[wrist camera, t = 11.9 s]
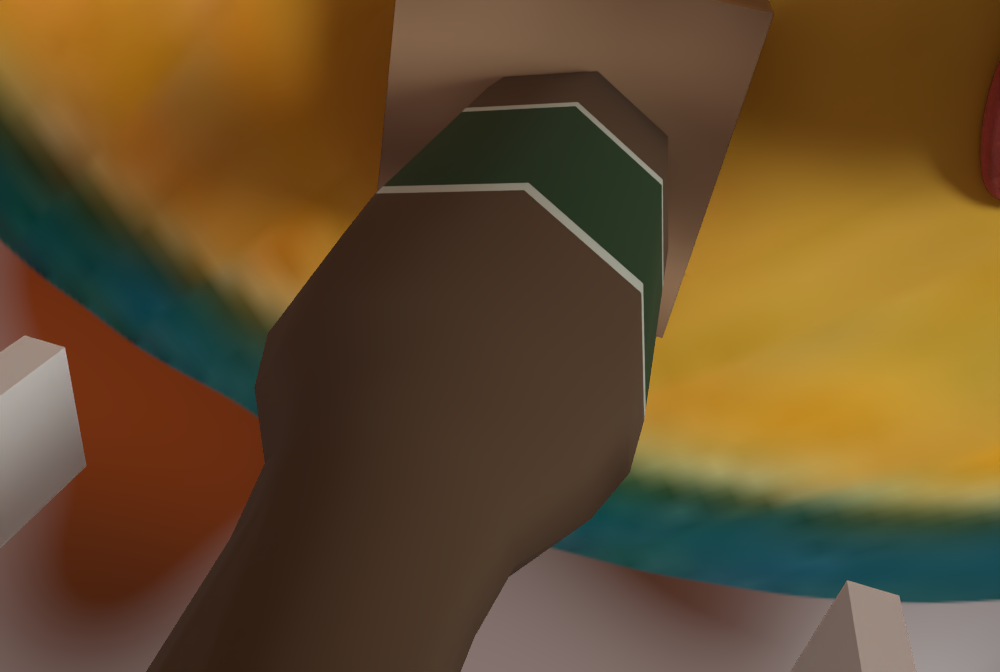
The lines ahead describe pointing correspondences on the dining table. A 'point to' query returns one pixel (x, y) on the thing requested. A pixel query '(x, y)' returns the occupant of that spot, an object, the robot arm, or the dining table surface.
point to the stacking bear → (992, 139)
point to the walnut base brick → (584, 48)
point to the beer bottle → (447, 390)
